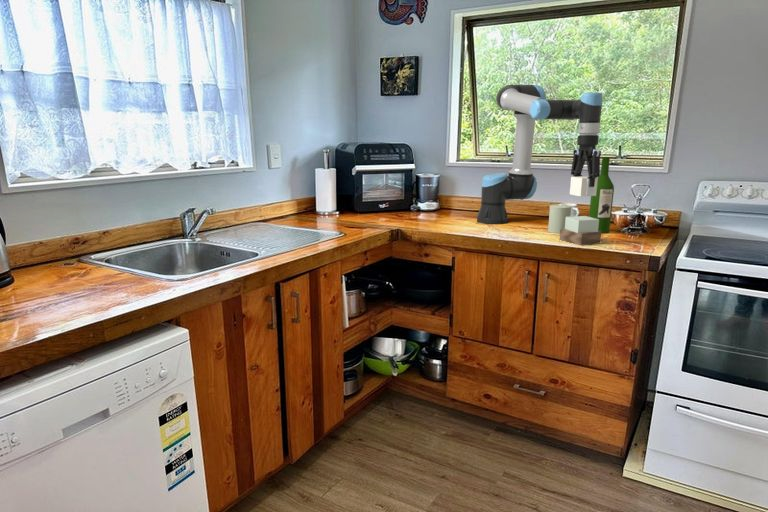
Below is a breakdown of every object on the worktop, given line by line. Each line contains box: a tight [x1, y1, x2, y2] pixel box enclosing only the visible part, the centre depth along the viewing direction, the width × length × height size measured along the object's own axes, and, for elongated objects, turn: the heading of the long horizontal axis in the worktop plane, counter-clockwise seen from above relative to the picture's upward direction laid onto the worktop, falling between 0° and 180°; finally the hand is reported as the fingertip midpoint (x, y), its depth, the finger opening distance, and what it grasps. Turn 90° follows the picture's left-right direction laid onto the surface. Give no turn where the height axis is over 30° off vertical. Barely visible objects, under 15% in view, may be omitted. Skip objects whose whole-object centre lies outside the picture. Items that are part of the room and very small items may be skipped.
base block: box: [559, 229, 602, 246], centre depth 199 cm, size 11×11×5 cm
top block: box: [565, 215, 599, 233], centre depth 198 cm, size 9×9×5 cm
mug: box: [558, 202, 580, 217], centre depth 233 cm, size 8×12×10 cm
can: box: [547, 204, 571, 235], centre depth 218 cm, size 9×9×12 cm
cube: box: [569, 175, 598, 197], centre depth 194 cm, size 7×7×7 cm
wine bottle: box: [588, 156, 615, 235], centre depth 215 cm, size 9×9×32 cm
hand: (582, 194), depth 195 cm, fingers closed on cube, 7 cm apart
